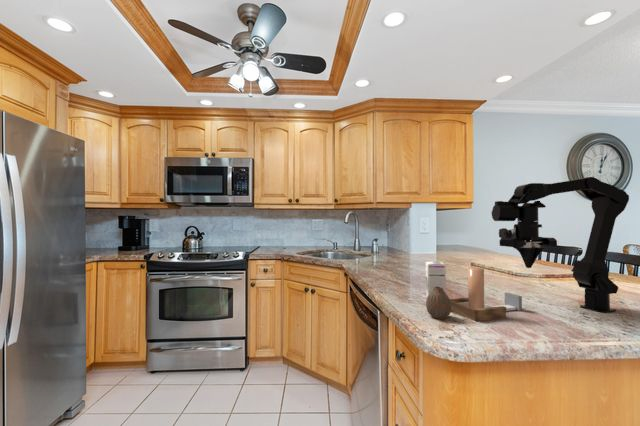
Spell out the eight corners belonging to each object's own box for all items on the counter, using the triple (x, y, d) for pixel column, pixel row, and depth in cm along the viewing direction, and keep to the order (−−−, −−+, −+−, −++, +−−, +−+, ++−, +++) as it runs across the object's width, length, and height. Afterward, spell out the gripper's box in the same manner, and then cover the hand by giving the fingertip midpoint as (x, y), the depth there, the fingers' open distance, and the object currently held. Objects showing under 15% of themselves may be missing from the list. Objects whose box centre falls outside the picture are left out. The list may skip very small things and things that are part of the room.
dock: (473, 305, 96) (473, 297, 96) (506, 317, 84) (506, 307, 84) (445, 308, 93) (445, 299, 93) (475, 321, 81) (474, 310, 81)
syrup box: (447, 308, 93) (446, 264, 93) (428, 307, 94) (427, 263, 94) (443, 303, 98) (442, 261, 99) (425, 302, 100) (424, 261, 100)
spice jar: (481, 307, 90) (480, 267, 91) (486, 311, 86) (486, 270, 86) (466, 306, 91) (466, 267, 92) (471, 310, 87) (470, 269, 87)
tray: (502, 304, 97) (502, 291, 97) (528, 312, 89) (527, 297, 89) (453, 309, 92) (453, 295, 92) (476, 318, 83) (476, 302, 83)
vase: (451, 315, 86) (451, 286, 87) (451, 322, 80) (451, 291, 80) (427, 312, 89) (426, 284, 90) (425, 318, 83) (425, 288, 83)
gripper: (525, 221, 106) (526, 263, 106) (485, 221, 101) (486, 265, 100) (557, 221, 95) (558, 268, 95) (515, 221, 90) (515, 270, 90)
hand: (528, 267), depth 95 cm, fingers closed
